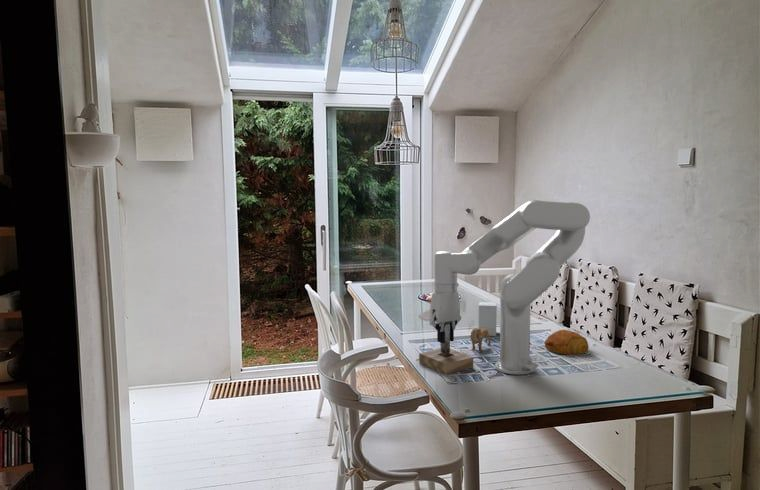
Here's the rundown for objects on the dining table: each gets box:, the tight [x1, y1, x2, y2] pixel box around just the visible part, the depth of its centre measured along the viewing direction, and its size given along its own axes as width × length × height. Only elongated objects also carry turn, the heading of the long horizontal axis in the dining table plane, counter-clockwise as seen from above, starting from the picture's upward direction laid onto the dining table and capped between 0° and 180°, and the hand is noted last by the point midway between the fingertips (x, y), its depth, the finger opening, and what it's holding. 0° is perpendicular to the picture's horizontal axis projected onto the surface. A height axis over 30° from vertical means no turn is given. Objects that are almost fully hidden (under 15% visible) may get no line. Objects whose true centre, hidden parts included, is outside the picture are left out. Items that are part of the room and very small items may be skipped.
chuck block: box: [418, 347, 474, 375], centre depth 175 cm, size 14×12×4 cm
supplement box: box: [477, 301, 498, 337], centre depth 213 cm, size 7×7×13 cm
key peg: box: [440, 321, 451, 353], centre depth 174 cm, size 4×4×12 cm
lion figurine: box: [470, 327, 491, 352], centre depth 193 cm, size 15×5×9 cm, turn 153°
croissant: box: [543, 329, 589, 356], centre depth 190 cm, size 14×16×8 cm
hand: (445, 340), depth 174 cm, fingers closed on key peg, 3 cm apart
